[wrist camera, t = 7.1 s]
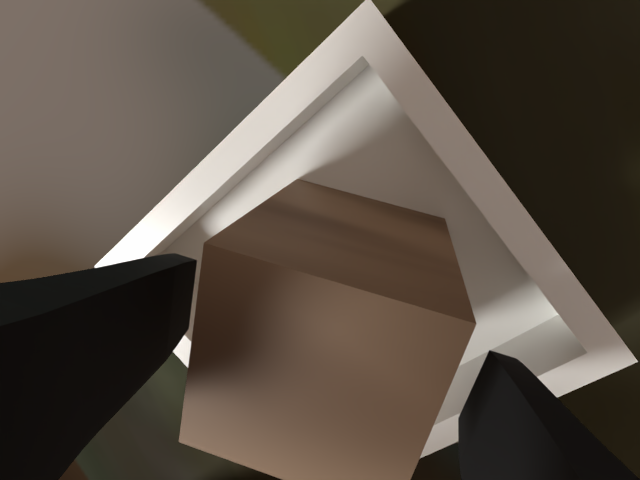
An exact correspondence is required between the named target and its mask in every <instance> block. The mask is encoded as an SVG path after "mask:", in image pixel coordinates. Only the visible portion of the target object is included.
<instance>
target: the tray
mask: <svg viewBox="0 0 640 480" xmlns="http://www.w3.org/2000/svg"><path fill="white" fill-rule="evenodd" d="M296 179H300V180H304V181H308V182H311V183H315V184H319V185H322V186H326V187H330V188H334V189H337V190H341V191H345V192H348V193H352V194H356V195H360V196H363V197H367V198H371V199H374V200H378V201H382V202H386V203H389V204H393V205H397V206H400V207H404V208H408V209H412V210H415V211H419V212H423V213H426V214H430V215H434V216H438V217H441V218H445V221H446V224H447V227H448V231H449V234H450V237H451V241H452V244H453V247H454V250H455V254H456V257H457V260H458V264H459V267H460V270H461V274H462V277H463V280H464V284H465V287H466V290H467V294H468V297H469V300H470V304H471V307H472V310H473V314H474V317H475V320H476V326H475V329H474V331H473V334H472V336H471V338H470V341H469V343H468V345H467V348H466V350H465V352H464V355H463V357H462V359H461V362H460V364H459V367H458V369H457V371H456V374H455V376H454V378H453V381H452V383H451V385H450V388H449V390H448V392H447V395H446V397H445V400H444V402H443V404H442V407H441V409H440V411H439V414H438V416H437V418H436V421H435V423H434V426H433V428H432V430H431V433H430V435H429V437H428V440H427V442H426V444H425V447H424V449H423V451H422V454H421V456H420V458H422V457H424V456H427V455H429V454H431V453H433V452H436V451H438V450H440V449H442V448H445V447H447V446H449V445H451V444H454V443H456V442H458V418H459V416H460V413H461V411H462V409H463V407H464V405H465V402H466V400H467V398H468V396H469V394H470V391H471V389H472V387H473V385H474V383H475V380H476V378H477V376H478V374H479V372H480V369H481V367H482V365H483V363H484V361H485V358H486V356H487V354H488V352H489V350H491V351H494V352H497V353H501V354H504V355H507V356H510V357H514V358H517V359H518V360H519V361H520V362H522V363H523V364H524V365H525V366H526V367H527V368H528V369H529V370H530V371H531V372H532V373H533V374H534V375H535V376H536V377H537V378H538V379H539V380H540V381H541V382H542V383H543V384H544V385H545V386H546V387H547V388H548V389H549V390H550V391H551V392H552V393H553V394H554V395H555V396H556V397H560V396H562V395H564V394H567V393H569V392H571V391H573V390H576V389H578V388H580V387H582V386H585V385H587V384H589V383H591V382H594V381H596V380H598V379H600V378H603V377H605V376H607V375H609V374H612V373H614V372H616V371H618V370H621V369H623V368H625V367H627V366H630V365H632V364H634V363H636V362H638V361H637V359H636V358H635V357H634V355H633V354H632V353H631V351H630V350H629V349H628V347H627V346H626V345H625V343H624V342H623V341H622V339H621V338H620V336H619V335H618V334H617V332H616V331H615V330H614V328H613V327H612V326H611V324H610V323H609V322H608V320H607V319H606V318H605V316H604V315H603V313H602V312H601V311H600V309H599V308H598V307H597V305H596V304H595V303H594V301H593V300H592V299H591V297H590V296H589V295H588V293H587V292H586V290H585V289H584V288H583V286H582V285H581V284H580V282H579V281H578V280H577V278H576V277H575V276H574V274H573V273H572V272H571V270H570V269H569V267H568V266H567V265H566V263H565V262H564V261H563V259H562V258H561V257H560V255H559V254H558V253H557V251H556V250H555V249H554V247H553V246H552V244H551V243H550V242H549V240H548V239H547V238H546V236H545V235H544V234H543V232H542V231H541V230H540V228H539V227H538V226H537V224H536V223H535V221H534V220H533V219H532V217H531V216H530V215H529V213H528V212H527V211H526V209H525V208H524V207H523V205H522V204H521V203H520V201H519V200H518V198H517V197H516V196H515V194H514V193H513V192H512V190H511V189H510V188H509V186H508V185H507V184H506V182H505V181H504V180H503V178H502V177H501V175H500V174H499V173H498V171H497V170H496V169H495V167H494V166H493V165H492V163H491V162H490V161H489V159H488V158H487V157H486V155H485V154H484V152H483V151H482V150H481V148H480V147H479V146H478V144H477V143H476V142H475V140H474V139H473V138H472V136H471V135H470V134H469V132H468V131H467V129H466V128H465V127H464V125H463V124H462V123H461V121H460V120H459V119H458V117H457V116H456V115H455V113H454V112H453V111H452V109H451V108H450V106H449V105H448V104H447V102H446V101H445V100H444V98H443V97H442V96H441V94H440V93H439V92H438V90H437V89H436V88H435V86H434V85H433V83H432V82H431V81H430V79H429V78H428V77H427V75H426V74H425V73H424V71H423V70H422V69H421V67H420V66H419V65H418V63H417V62H416V60H415V59H414V58H413V56H412V55H411V54H410V52H409V51H408V50H407V48H406V47H405V46H404V44H403V43H402V42H401V40H400V39H399V37H398V36H397V35H396V33H395V32H394V31H393V29H392V28H391V27H390V25H389V24H388V23H387V21H386V20H385V19H384V17H383V16H382V14H381V13H380V12H379V10H378V9H377V8H376V6H375V5H374V4H373V2H372V1H371V0H365V1H364V2H363V3H362V4H361V5H360V6H359V7H358V8H357V9H356V10H355V11H354V12H353V13H352V14H351V15H350V16H349V17H348V18H347V19H346V20H345V21H344V22H343V23H342V24H341V25H340V26H339V27H338V28H337V29H336V30H335V31H334V32H333V33H332V34H331V35H330V36H329V37H328V38H327V39H325V40H324V41H323V42H322V43H321V44H320V45H319V46H318V47H317V48H316V49H315V50H314V51H313V52H312V53H311V54H310V55H309V56H308V57H307V58H306V59H305V60H304V61H303V62H302V63H301V64H300V65H299V66H298V67H297V68H296V69H295V70H294V71H293V72H292V73H291V74H290V75H289V76H288V77H287V78H286V79H285V80H284V81H283V82H282V83H281V84H280V85H279V86H278V87H277V88H276V89H275V90H274V91H273V92H272V93H271V94H270V95H268V96H267V98H265V99H264V100H263V101H262V102H261V103H260V104H259V105H258V106H257V107H256V108H255V109H254V110H253V111H252V112H251V113H250V114H249V115H248V116H247V117H246V118H245V119H244V120H243V121H242V122H241V123H240V124H239V125H238V126H237V127H236V128H235V129H234V130H233V131H232V132H231V133H230V134H229V135H228V136H227V137H226V138H225V139H224V140H223V141H222V142H221V143H220V144H219V145H218V146H217V147H216V148H215V149H214V150H213V151H211V152H210V154H209V155H207V156H206V157H205V158H204V159H203V160H202V161H201V162H200V163H199V164H198V165H197V166H196V167H195V168H194V169H193V170H192V171H191V172H190V173H189V174H188V175H187V176H186V177H185V178H184V179H183V180H182V181H181V182H180V183H179V184H178V185H177V186H176V187H175V188H174V189H173V190H172V191H171V192H170V193H169V194H168V195H167V196H166V197H165V198H164V199H163V200H162V201H161V202H160V203H159V204H158V205H157V206H155V207H154V209H152V210H151V212H149V213H148V214H147V215H146V216H145V217H144V218H143V220H141V221H140V222H139V223H138V224H137V225H136V226H135V227H134V228H133V229H132V230H131V231H130V232H129V233H128V234H127V235H126V236H125V237H124V238H123V239H122V240H121V241H120V242H119V243H118V244H117V245H116V246H115V247H114V248H113V249H112V250H111V251H110V252H109V253H108V254H107V255H106V256H105V257H104V258H103V259H102V260H100V261H99V262H98V263H97V264H96V265H95V268H97V267H102V266H107V265H112V264H117V263H121V262H126V261H131V260H136V259H140V258H145V257H151V256H156V255H162V254H171V253H176V254H179V255H182V256H186V257H189V258H192V259H195V260H197V266H196V274H195V282H194V290H193V298H192V306H191V314H190V323H189V329H188V331H187V332H186V334H185V335H184V336H183V338H182V339H181V341H180V342H179V344H178V345H177V346H176V348H175V349H174V350H173V352H174V353H175V354H176V355H177V357H178V358H179V359H180V360H181V361H182V362H183V363H184V364H185V365H186V366H187V367H188V365H189V357H190V349H191V341H192V333H193V325H194V317H195V309H196V301H197V293H198V285H199V277H200V269H201V261H202V253H203V245H204V242H206V241H207V240H209V239H210V238H211V237H213V236H214V235H216V234H217V233H219V232H220V231H222V230H223V229H225V228H226V227H228V226H229V225H230V224H232V223H233V222H235V221H236V220H238V219H239V218H241V217H242V216H244V215H245V214H246V213H248V212H249V211H251V210H252V209H254V208H255V207H257V206H258V205H260V204H261V203H263V202H264V201H265V200H267V199H268V198H270V197H271V196H273V195H274V194H276V193H277V192H279V191H280V190H281V189H283V188H284V187H286V186H287V185H289V184H290V183H292V182H293V181H295V180H296Z"/></svg>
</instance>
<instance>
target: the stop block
mask: <svg viewBox="0 0 640 480" xmlns="http://www.w3.org/2000/svg"><path fill="white" fill-rule="evenodd" d="M475 326H476V320H475V317H474V314H473V310H472V307H471V304H470V300H469V297H468V294H467V290H466V287H465V284H464V280H463V277H462V274H461V270H460V267H459V264H458V260H457V257H456V254H455V250H454V247H453V244H452V241H451V237H450V234H449V231H448V227H447V224H446V221H445V218H441V217H438V216H434V215H430V214H426V213H423V212H419V211H415V210H412V209H408V208H404V207H400V206H397V205H393V204H389V203H386V202H382V201H378V200H374V199H371V198H367V197H363V196H360V195H356V194H352V193H348V192H345V191H341V190H337V189H334V188H330V187H326V186H322V185H319V184H315V183H311V182H308V181H304V180H300V179H296V180H295V181H293V182H292V183H290V184H289V185H287V186H286V187H284V188H283V189H281V190H280V191H279V192H277V193H276V194H274V195H273V196H271V197H270V198H268V199H267V200H265V201H264V202H263V203H261V204H260V205H258V206H257V207H255V208H254V209H252V210H251V211H249V212H248V213H246V214H245V215H244V216H242V217H241V218H239V219H238V220H236V221H235V222H233V223H232V224H230V225H229V226H228V227H226V228H225V229H223V230H222V231H220V232H219V233H217V234H216V235H214V236H213V237H211V238H210V239H209V240H207V241H206V242H204V245H203V253H202V261H201V269H200V277H199V285H198V293H197V301H196V309H195V317H194V325H193V333H192V341H191V349H190V357H189V365H188V373H187V381H186V389H185V397H184V405H183V413H182V421H181V429H180V437H179V442H180V443H183V444H186V445H189V446H191V447H194V448H197V449H200V450H202V451H205V452H208V453H211V454H213V455H216V456H219V457H222V458H224V459H227V460H230V461H233V462H235V463H238V464H241V465H244V466H246V467H249V468H252V469H255V470H257V471H260V472H263V473H266V474H268V475H271V476H274V477H277V478H279V479H282V480H411V477H412V475H413V473H414V470H415V468H416V466H417V463H418V461H419V459H420V456H421V454H422V451H423V449H424V447H425V444H426V442H427V440H428V437H429V435H430V433H431V430H432V428H433V426H434V423H435V421H436V418H437V416H438V414H439V411H440V409H441V407H442V404H443V402H444V400H445V397H446V395H447V392H448V390H449V388H450V385H451V383H452V381H453V378H454V376H455V374H456V371H457V369H458V367H459V364H460V362H461V359H462V357H463V355H464V352H465V350H466V348H467V345H468V343H469V341H470V338H471V336H472V334H473V331H474V329H475Z"/></svg>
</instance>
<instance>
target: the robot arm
mask: <svg viewBox="0 0 640 480" xmlns="http://www.w3.org/2000/svg"><path fill="white" fill-rule="evenodd" d="M196 266H197V260H195V259H192V258H189V257H186V256H182V255H179V254H176V253H171V254H162V255H156V256H151V257H145V258H140V259H136V260H131V261H126V262H121V263H117V264H112V265H107V266H102V267H97V268H93V269H87V270H82V271H76V272H71V273H65V274H59V275H54V276H48V277H42V278H36V279H30V280H21V281H14V282H6V283H0V480H58V479H59V478H60V477H61V476H62V475H63V473H64V472H65V471H66V470H67V468H68V467H69V466H70V464H71V463H72V462H73V461H74V459H75V458H76V457H77V456H78V454H79V453H80V452H81V451H82V450H83V448H84V447H85V446H86V445H87V444H88V443H89V442H90V440H91V439H92V438H93V437H94V436H95V435H96V434H97V433H98V431H99V430H100V429H101V428H102V427H103V426H104V425H105V424H106V423H107V422H108V421H109V420H110V419H111V418H112V417H113V416H114V415H115V414H116V413H117V412H118V411H119V410H120V409H121V408H122V406H123V405H124V404H125V403H126V402H127V401H128V400H129V399H130V398H131V397H132V396H133V395H134V394H135V393H136V392H137V391H138V390H139V389H140V388H141V387H142V386H143V385H144V384H145V382H146V381H147V380H148V379H149V378H150V377H151V376H152V375H153V374H154V373H155V372H156V371H157V370H158V369H159V368H160V366H161V365H162V364H163V363H164V362H165V361H166V360H167V359H168V357H169V356H170V354H171V353H172V352H173V350H174V349H175V348H176V346H177V345H178V344H179V342H180V341H181V339H182V338H183V336H184V335H185V334H186V332H187V331H188V329H189V323H190V314H191V306H192V298H193V290H194V282H195V274H196ZM458 445H459V465H460V472H461V479H462V480H640V479H639V478H638V477H637V476H636V475H635V474H633V473H632V472H631V471H630V470H629V469H628V468H627V467H626V466H625V465H624V464H623V463H622V462H621V461H620V460H619V459H618V458H617V457H615V456H614V455H613V454H612V453H611V452H610V451H609V450H608V449H607V448H606V447H605V446H604V445H603V444H602V443H601V442H600V441H599V440H598V439H597V438H596V437H595V436H594V435H593V434H592V433H591V432H590V431H589V430H588V429H587V428H586V427H585V426H584V425H583V424H582V423H581V422H580V421H579V420H578V419H577V418H576V417H575V416H574V415H573V414H572V413H571V412H570V411H569V410H568V409H567V408H566V407H565V406H564V405H563V404H562V403H561V401H560V400H559V399H558V398H557V397H556V396H555V395H554V394H553V393H552V392H551V391H550V390H549V389H548V388H547V387H546V386H545V385H544V384H543V383H542V382H541V381H540V380H539V379H538V378H537V377H536V376H535V375H534V374H533V373H532V372H531V371H530V370H529V369H528V368H527V367H526V366H525V365H524V364H523V363H522V362H520V361H519V360H518V359H517V358H514V357H510V356H507V355H504V354H501V353H497V352H494V351H491V350H489V352H488V354H487V356H486V358H485V361H484V363H483V365H482V367H481V369H480V372H479V374H478V376H477V378H476V380H475V383H474V385H473V387H472V389H471V391H470V394H469V396H468V398H467V400H466V402H465V405H464V407H463V409H462V411H461V413H460V416H459V418H458Z"/></svg>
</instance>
